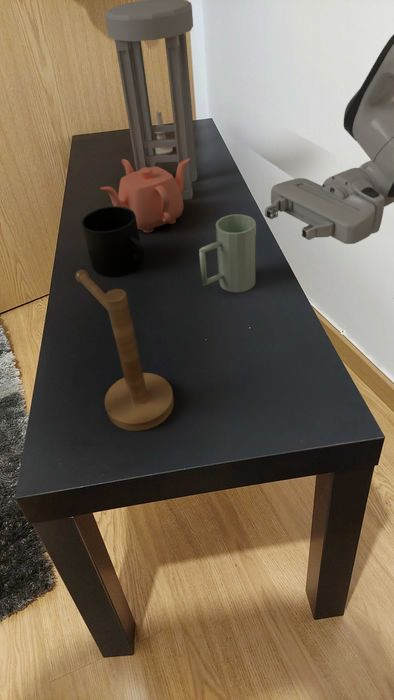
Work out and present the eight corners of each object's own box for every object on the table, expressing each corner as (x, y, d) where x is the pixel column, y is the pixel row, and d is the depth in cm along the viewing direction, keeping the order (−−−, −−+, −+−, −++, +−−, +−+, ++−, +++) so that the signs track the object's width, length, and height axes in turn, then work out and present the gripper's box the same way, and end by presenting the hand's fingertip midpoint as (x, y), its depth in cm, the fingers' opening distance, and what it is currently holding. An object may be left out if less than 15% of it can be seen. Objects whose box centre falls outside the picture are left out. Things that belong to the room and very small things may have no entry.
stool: (199, 203, 109) (184, 10, 86) (129, 204, 112) (96, 17, 88) (207, 173, 121) (195, -5, 97) (143, 175, 123) (116, 1, 99)
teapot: (109, 237, 102) (98, 185, 94) (130, 204, 112) (121, 154, 104) (180, 239, 99) (174, 186, 91) (194, 205, 109) (190, 154, 102)
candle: (152, 149, 135) (146, 107, 128) (171, 146, 135) (166, 104, 128) (154, 156, 131) (148, 114, 124) (174, 153, 131) (169, 111, 124)
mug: (128, 287, 88) (119, 241, 82) (81, 267, 94) (70, 223, 88) (163, 262, 93) (157, 217, 87) (117, 244, 99) (108, 201, 93)
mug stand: (186, 408, 67) (171, 298, 55) (126, 442, 63) (96, 332, 51) (129, 345, 77) (106, 240, 65) (75, 372, 73) (39, 266, 61)
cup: (240, 267, 90) (239, 210, 83) (263, 283, 86) (263, 224, 79) (193, 289, 86) (187, 231, 79) (214, 306, 82) (210, 247, 75)
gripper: (305, 163, 96) (247, 186, 91) (392, 200, 83) (330, 229, 77) (303, 195, 100) (247, 218, 95) (386, 235, 87) (326, 264, 82)
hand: (285, 223), depth 86 cm, fingers open, 8 cm apart
